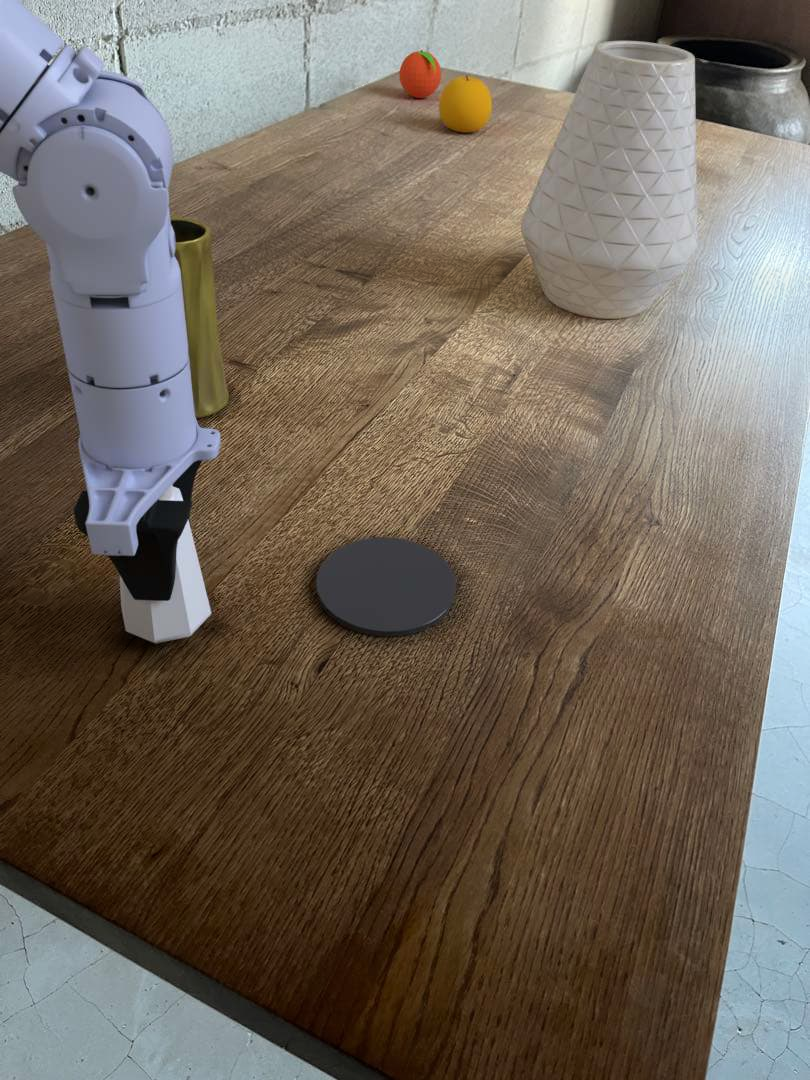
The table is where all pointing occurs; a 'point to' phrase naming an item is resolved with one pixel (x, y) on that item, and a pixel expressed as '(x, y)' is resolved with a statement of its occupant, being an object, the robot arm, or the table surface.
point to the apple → (465, 104)
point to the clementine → (420, 74)
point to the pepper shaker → (185, 602)
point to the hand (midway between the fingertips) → (160, 570)
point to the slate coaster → (386, 586)
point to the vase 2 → (619, 184)
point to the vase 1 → (200, 315)
